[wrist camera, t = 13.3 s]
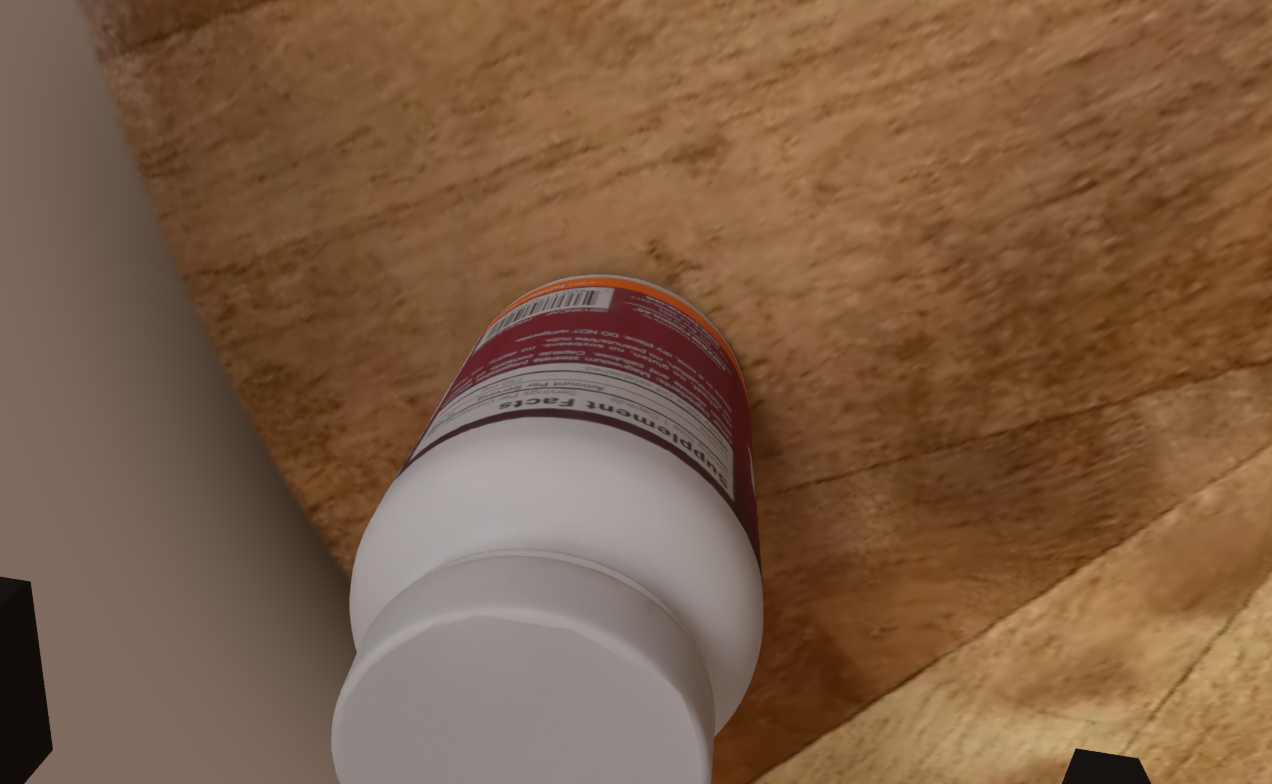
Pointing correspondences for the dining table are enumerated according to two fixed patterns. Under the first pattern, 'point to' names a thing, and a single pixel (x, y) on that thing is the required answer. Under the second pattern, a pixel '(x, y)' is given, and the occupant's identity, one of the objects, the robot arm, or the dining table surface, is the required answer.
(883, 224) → the dining table surface
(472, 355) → the pill bottle
